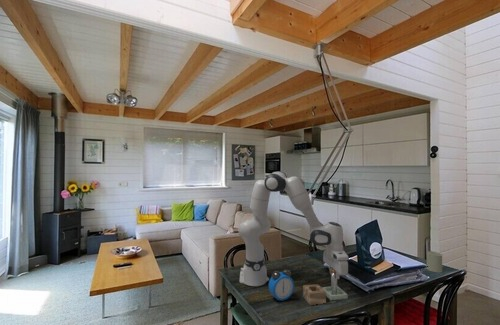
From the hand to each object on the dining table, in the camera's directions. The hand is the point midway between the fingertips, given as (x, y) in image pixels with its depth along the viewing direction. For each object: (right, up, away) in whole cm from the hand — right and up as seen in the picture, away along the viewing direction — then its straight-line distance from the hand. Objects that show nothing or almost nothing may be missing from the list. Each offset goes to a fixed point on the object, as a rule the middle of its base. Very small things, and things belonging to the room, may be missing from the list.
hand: (334, 276), depth 141 cm
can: (+83, -12, +36) cm, 91 cm away
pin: (0, -10, 0) cm, 10 cm away
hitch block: (-13, -10, -5) cm, 17 cm away
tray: (0, -11, 0) cm, 11 cm away
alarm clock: (-30, -10, -4) cm, 32 cm away
